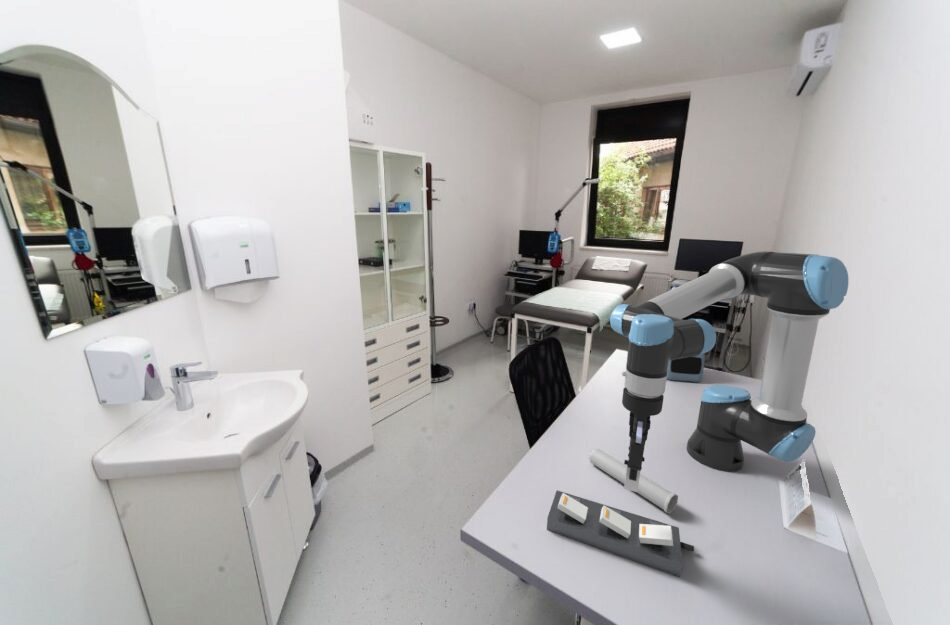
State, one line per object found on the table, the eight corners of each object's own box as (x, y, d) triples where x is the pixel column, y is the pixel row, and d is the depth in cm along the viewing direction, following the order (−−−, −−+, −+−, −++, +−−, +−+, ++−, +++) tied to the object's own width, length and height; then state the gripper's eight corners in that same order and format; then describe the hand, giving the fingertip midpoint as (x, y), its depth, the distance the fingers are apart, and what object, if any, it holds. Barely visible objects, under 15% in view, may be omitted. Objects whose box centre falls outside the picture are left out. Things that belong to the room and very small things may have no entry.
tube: (598, 445, 113) (680, 492, 93) (593, 461, 114) (674, 512, 93) (588, 445, 110) (670, 495, 90) (583, 462, 110) (664, 515, 90)
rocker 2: (628, 525, 84) (631, 520, 83) (627, 538, 80) (630, 533, 80) (601, 509, 86) (604, 504, 85) (599, 521, 82) (602, 517, 82)
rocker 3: (672, 531, 80) (670, 525, 80) (673, 545, 76) (671, 539, 76) (640, 529, 83) (639, 523, 83) (640, 542, 79) (638, 536, 79)
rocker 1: (585, 511, 88) (588, 507, 87) (583, 523, 84) (585, 519, 83) (560, 496, 90) (563, 492, 89) (557, 508, 86) (559, 503, 85)
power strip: (691, 544, 83) (694, 530, 82) (696, 583, 74) (699, 567, 73) (555, 501, 96) (556, 488, 95) (546, 529, 87) (547, 515, 86)
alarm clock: (664, 380, 169) (669, 348, 165) (654, 367, 184) (658, 337, 180) (703, 383, 166) (709, 350, 162) (689, 369, 182) (694, 339, 178)
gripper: (625, 375, 82) (615, 466, 87) (621, 400, 70) (610, 503, 76) (662, 381, 79) (649, 474, 84) (665, 408, 67) (650, 515, 73)
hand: (631, 488), depth 80 cm, fingers closed
